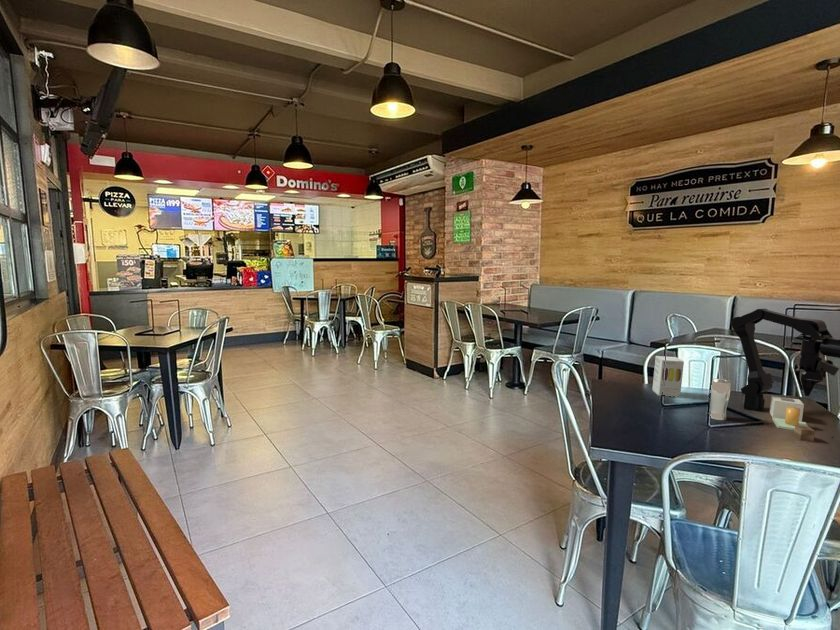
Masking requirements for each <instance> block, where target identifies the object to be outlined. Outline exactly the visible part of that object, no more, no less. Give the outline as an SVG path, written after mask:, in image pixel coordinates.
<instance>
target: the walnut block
mask: <svg viewBox="0 0 840 630" xmlns="http://www.w3.org/2000/svg"><path fill="white" fill-rule="evenodd" d="M793 431H794V432H793V437H795V438H796V439H798V441H801V442H802V441H803V442H804V441H805V442H812V443H813V442H814V441H815V432H816V430H814V428H812V427H810V426H809V427H807V426H796V425H795V430H793Z"/></svg>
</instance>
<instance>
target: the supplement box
mask: <svg viewBox="0 0 840 630" xmlns="http://www.w3.org/2000/svg"><path fill="white" fill-rule="evenodd" d="M665 356H666V355H665ZM665 356H664V355H663V356H662V355H655V361H654V370H653V380H652V392H653V393H655V394H656V395H657V396H659V397H662V396H661V395H662V392H663V390H664V395H665V396H664V397H669V396H671V398H672V397H673V396H678V397H677V398H681V392H682V391H681V390H682V383H683V374H684V373H683V372H684V365H685V364H684V363H685V362H684V360H682V359H681V358H679V357H677V356H666V373H665V386H664V385H663V377H664V362H665ZM663 386H664V387H663ZM673 398H674V397H673Z"/></svg>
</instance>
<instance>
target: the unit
mask: <svg viewBox="0 0 840 630" xmlns="http://www.w3.org/2000/svg"><path fill="white" fill-rule="evenodd" d="M770 396H771V397H770V405H769V414H770V416H771V417H772V418H780V419H785V417H786V409H787V407H795V408H799V409H800V416H799V421H800V422H803V414H804V409H805V408H804V405H805V404H804V403H803V401H802V400H800V399H798V398H797V399H796V398H790V397H783V396H775V395H770Z"/></svg>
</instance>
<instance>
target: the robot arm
mask: <svg viewBox="0 0 840 630" xmlns="http://www.w3.org/2000/svg"><path fill="white" fill-rule="evenodd" d="M763 320H764V321H768V322H772V323H774V324H775V323H776V324H778V325H782V326H786V327H789V328H792V329H794V330H795V331H796V332H798V333H800V334H799V335H797V336H796V337H795V338H794V339H796V340H799V341H801V345H800V352H799V353H798V357H799V359H798V360H799V361H796V362H794V363H793V364H792V369H793V372H794V375H795V377H796V380H797V381H796V382H798V386H799V389H800V390H801V391H803V394H804V396H805V397H809V396H810V395H811V393H812V390H813V389H814V388H815V385H817V384H818V383H821V382H823V381H824V377H825V376H824V375H823V374H822V372H825V373H828V374H829V375H831V376H836V375H837V373H838V372H839V370H840V367H838V366H837V365H835V364H834V362H833V361H832V360H830V359H826V360H823V358H822V357H821V354H822V355H823V356H825V357H826V356H827V357H831V358H838V359H840V338H834V337H833V335H832V333H830V331H829V330H828V328H827V324H826V322H825V321H823V320H822V319H815V318H814V319H813V318H803V317H802V318H801V317H796V316H792V315H789V314H784V313H781V312H777V311H773V310H770V309H768V308H757V309H755V310H753V311H752V312H749V313H746V314H743V315H741V316H736V317H735V316H734V317H733V318H732V320H731V322H730V324H731V327H732V330H733V331H734V334H735V335H736V336H738V338H739V339H740V343H741V347H742V350H743V355H744V357H745V362H746V365H747V368H748V374H747V379H746V380H747V384H746V385H744V386H743V387H741V388H740V391H741V394H742V395H743V399H742V400H743V401H742V403H741V406H742V408H743V409H744V410H749V411H750V410H751V411H756V412H758V411H759V412H763V411H764V409H765V401H766V400H765V398H764V395H766V394H767V393H768V392H769V391H771V390H772V388H773V384H774V381H773V379H772V374H771V373H767V372H765V370H764V368H763V365H762V361H761V358H760V353H759V351H758V347H757V343H756V340H755V336H754V335H755V331H756V324H758V323H760V322H762V321H763ZM821 371H822V372H821Z"/></svg>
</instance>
